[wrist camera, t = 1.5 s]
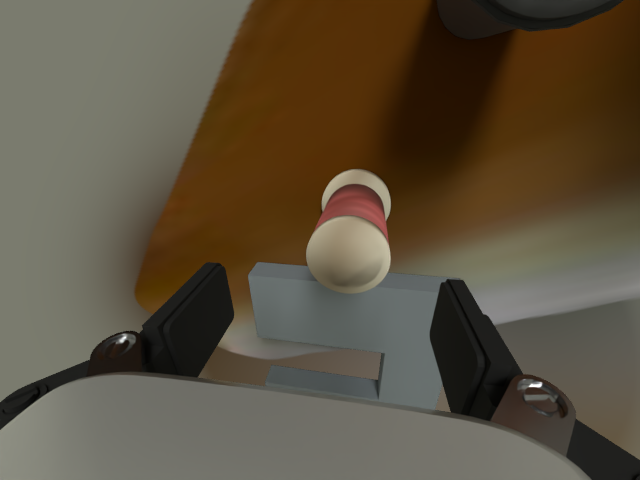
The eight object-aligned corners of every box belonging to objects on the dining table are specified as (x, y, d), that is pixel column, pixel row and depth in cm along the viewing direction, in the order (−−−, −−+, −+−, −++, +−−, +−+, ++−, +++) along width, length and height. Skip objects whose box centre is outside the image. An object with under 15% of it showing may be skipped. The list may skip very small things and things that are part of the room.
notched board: (459, 278, 25) (468, 295, 23) (420, 427, 35) (423, 448, 33) (257, 262, 28) (247, 275, 26) (276, 403, 39) (271, 421, 36)
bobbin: (393, 169, 22) (409, 211, 13) (386, 234, 24) (395, 306, 15) (323, 168, 22) (292, 206, 14) (323, 230, 25) (298, 296, 16)
